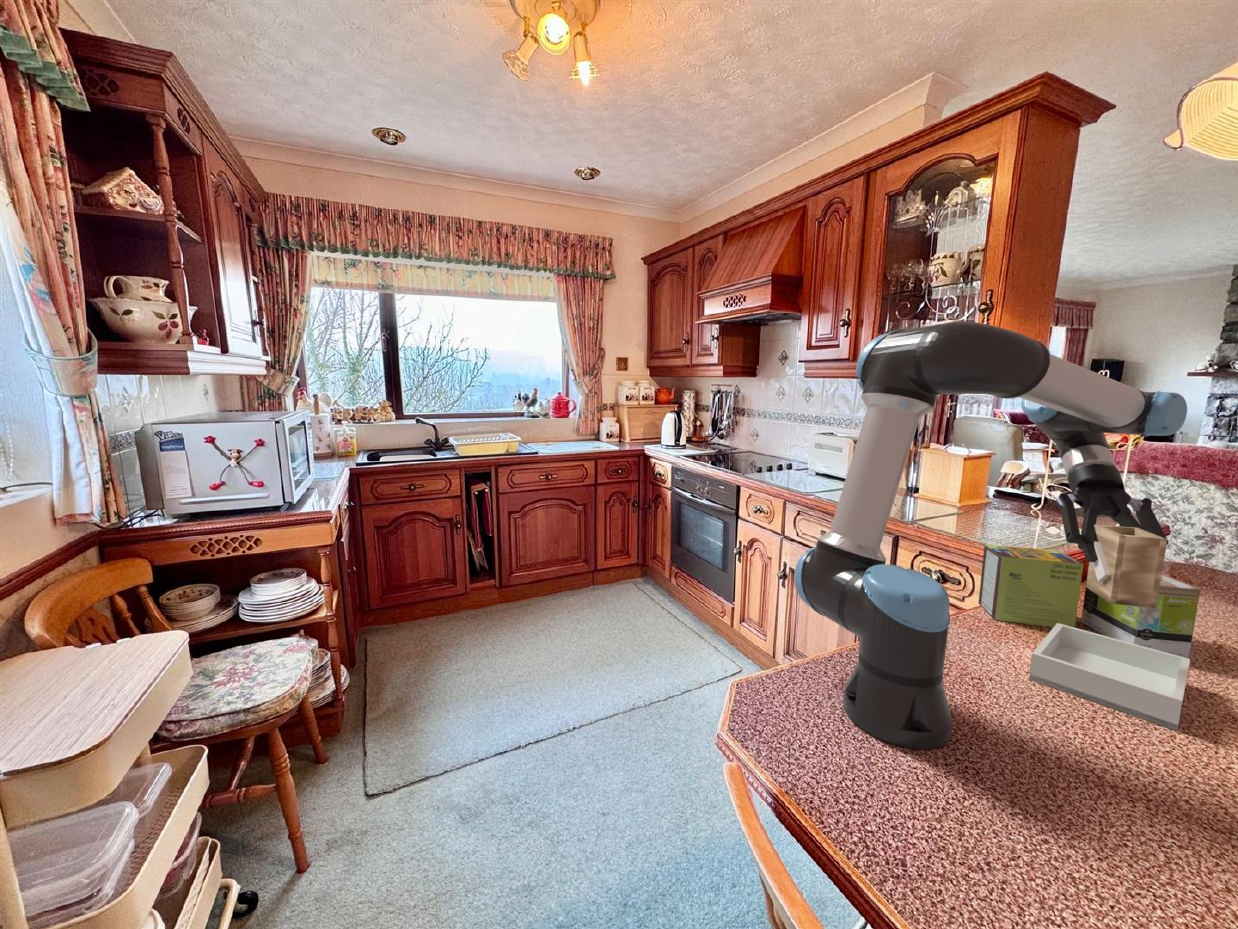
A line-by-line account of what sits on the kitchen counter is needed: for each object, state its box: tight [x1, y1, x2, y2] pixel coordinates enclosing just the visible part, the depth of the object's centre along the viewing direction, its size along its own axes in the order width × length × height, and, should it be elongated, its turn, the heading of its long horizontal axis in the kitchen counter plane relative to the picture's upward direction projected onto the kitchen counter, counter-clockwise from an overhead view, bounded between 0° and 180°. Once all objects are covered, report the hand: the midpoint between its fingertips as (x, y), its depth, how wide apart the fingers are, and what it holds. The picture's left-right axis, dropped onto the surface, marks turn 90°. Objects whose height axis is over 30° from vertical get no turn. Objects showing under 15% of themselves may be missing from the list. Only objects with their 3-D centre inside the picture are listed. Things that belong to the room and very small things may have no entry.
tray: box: [1028, 623, 1191, 732], centre depth 88 cm, size 18×20×5 cm
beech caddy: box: [1085, 524, 1168, 609], centre depth 86 cm, size 6×8×12 cm
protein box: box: [978, 544, 1084, 628], centre depth 115 cm, size 10×15×16 cm
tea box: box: [1080, 567, 1201, 659], centre depth 104 cm, size 15×10×15 cm
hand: (1129, 580), depth 84 cm, fingers closed on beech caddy, 6 cm apart
